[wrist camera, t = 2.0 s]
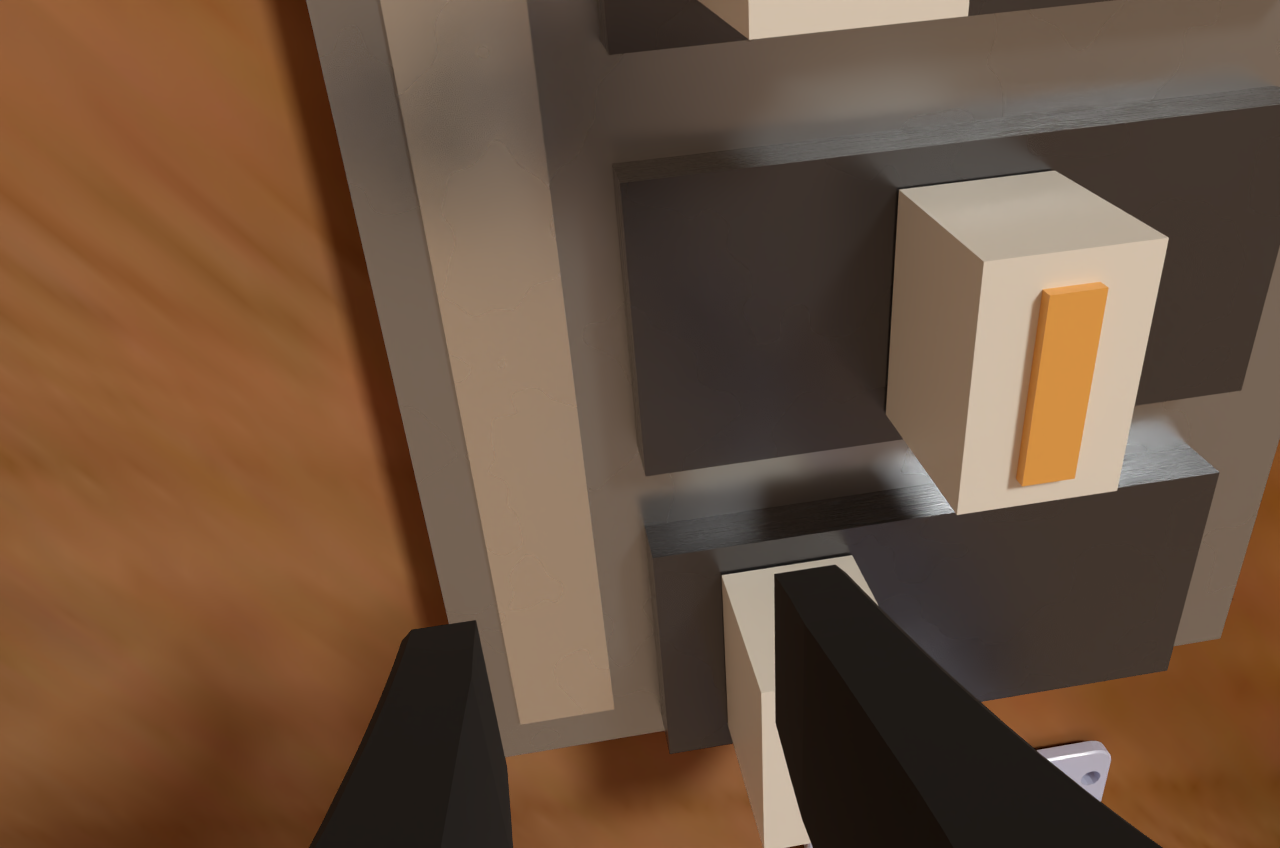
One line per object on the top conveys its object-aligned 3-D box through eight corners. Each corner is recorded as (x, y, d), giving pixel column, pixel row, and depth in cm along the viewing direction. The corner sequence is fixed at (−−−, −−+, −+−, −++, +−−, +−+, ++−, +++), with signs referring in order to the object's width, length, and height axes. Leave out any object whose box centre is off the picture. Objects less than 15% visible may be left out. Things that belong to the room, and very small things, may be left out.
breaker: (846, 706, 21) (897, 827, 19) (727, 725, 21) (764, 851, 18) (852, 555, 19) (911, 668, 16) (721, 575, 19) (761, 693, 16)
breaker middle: (1023, 394, 18) (1124, 498, 15) (886, 414, 18) (962, 523, 15) (1054, 170, 16) (1178, 243, 13) (898, 189, 15) (990, 267, 13)
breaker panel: (1188, 604, 24) (1248, 669, 22) (480, 719, 23) (480, 799, 21) (1484, -499, 14) (1641, -549, 12) (227, -415, 13) (185, -458, 11)
